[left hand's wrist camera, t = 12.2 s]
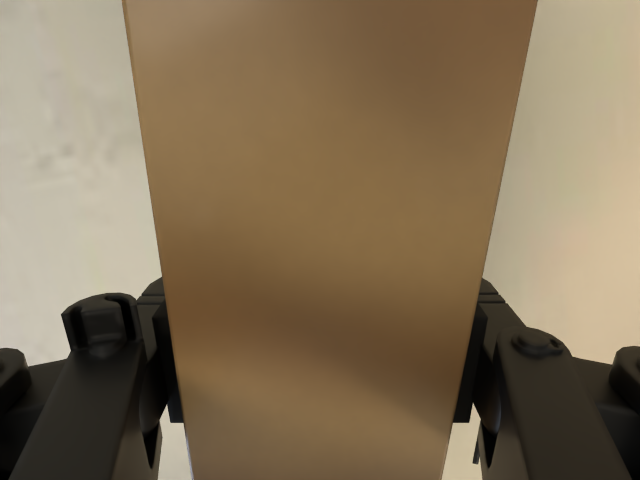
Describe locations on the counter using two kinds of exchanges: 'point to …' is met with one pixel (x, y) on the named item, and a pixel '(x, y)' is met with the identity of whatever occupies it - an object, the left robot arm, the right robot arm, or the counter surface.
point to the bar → (323, 219)
